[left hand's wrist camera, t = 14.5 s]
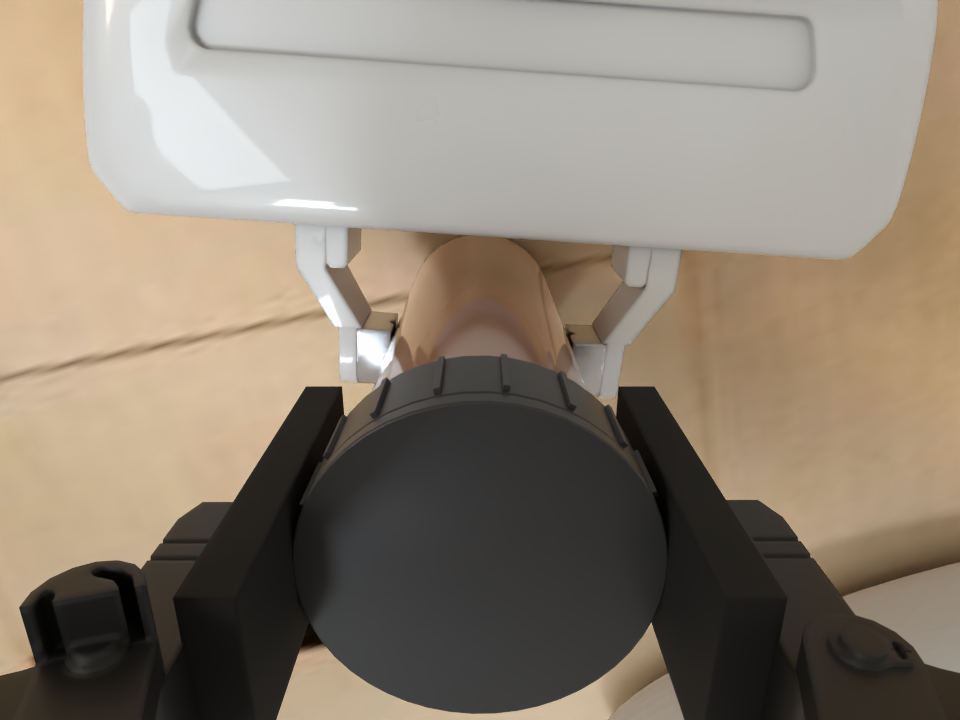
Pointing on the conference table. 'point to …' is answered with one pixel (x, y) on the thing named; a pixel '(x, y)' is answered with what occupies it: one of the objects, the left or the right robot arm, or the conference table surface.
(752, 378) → the conference table surface
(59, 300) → the conference table surface
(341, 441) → the lid
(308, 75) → the right robot arm
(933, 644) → the projector
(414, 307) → the jar
